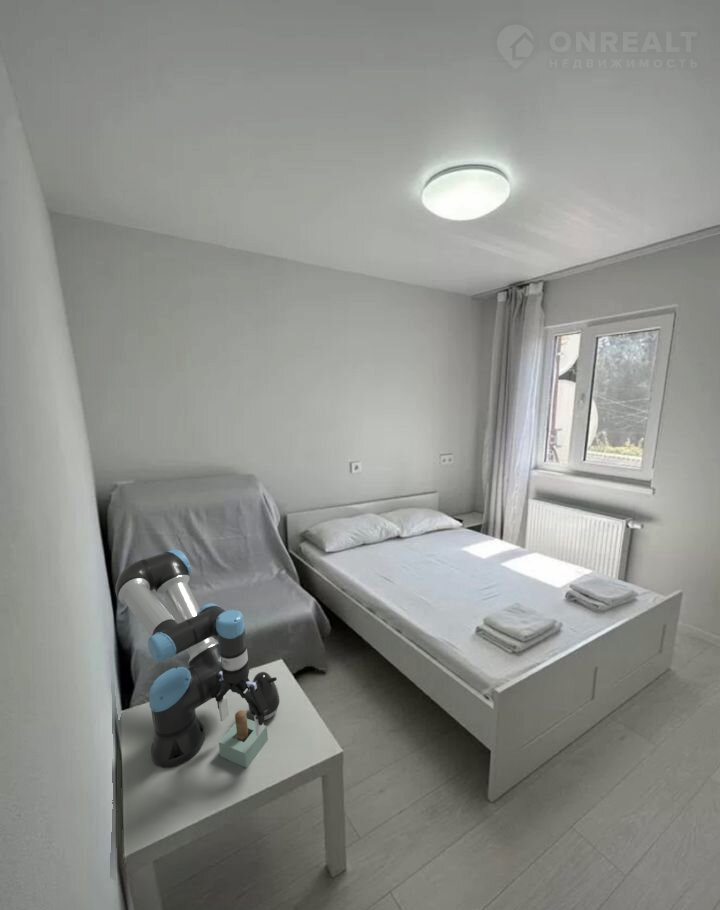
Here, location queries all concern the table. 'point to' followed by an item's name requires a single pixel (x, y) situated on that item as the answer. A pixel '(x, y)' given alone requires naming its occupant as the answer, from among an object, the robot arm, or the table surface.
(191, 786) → the table surface
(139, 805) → the table surface
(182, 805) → the table surface
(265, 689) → the pump dispenser
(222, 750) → the socket block
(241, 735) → the peg
